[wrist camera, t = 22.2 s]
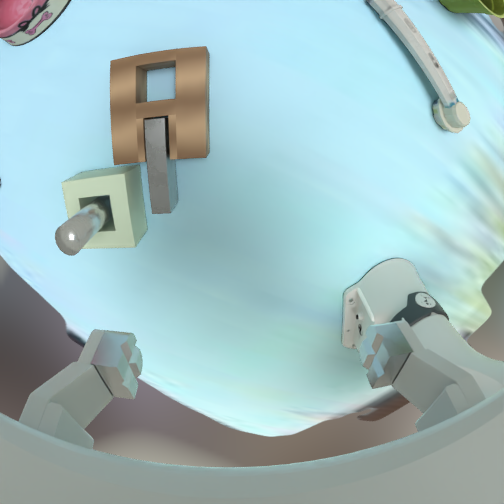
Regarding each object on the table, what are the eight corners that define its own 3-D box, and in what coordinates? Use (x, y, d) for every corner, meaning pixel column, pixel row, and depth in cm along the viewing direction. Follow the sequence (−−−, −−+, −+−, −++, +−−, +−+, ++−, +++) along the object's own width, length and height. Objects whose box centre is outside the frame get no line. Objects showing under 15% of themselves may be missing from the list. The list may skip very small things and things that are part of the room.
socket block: (209, 152, 35) (206, 157, 31) (126, 158, 34) (114, 165, 30) (209, 54, 28) (206, 46, 24) (123, 65, 28) (110, 60, 24)
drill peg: (126, 210, 38) (83, 255, 26) (105, 211, 38) (60, 255, 25) (122, 187, 36) (76, 224, 24) (102, 189, 36) (51, 226, 24)
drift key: (178, 201, 38) (170, 213, 34) (161, 201, 38) (152, 213, 33) (173, 117, 32) (164, 117, 28) (155, 119, 32) (144, 120, 28)
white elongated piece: (391, -14, 19) (483, 125, 26) (376, 2, 26) (459, 124, 33) (369, -7, 21) (466, 139, 28) (354, 10, 27) (442, 137, 34)
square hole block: (147, 229, 40) (135, 247, 34) (92, 231, 39) (75, 248, 34) (139, 164, 35) (124, 173, 30) (82, 171, 34) (61, 182, 29)
